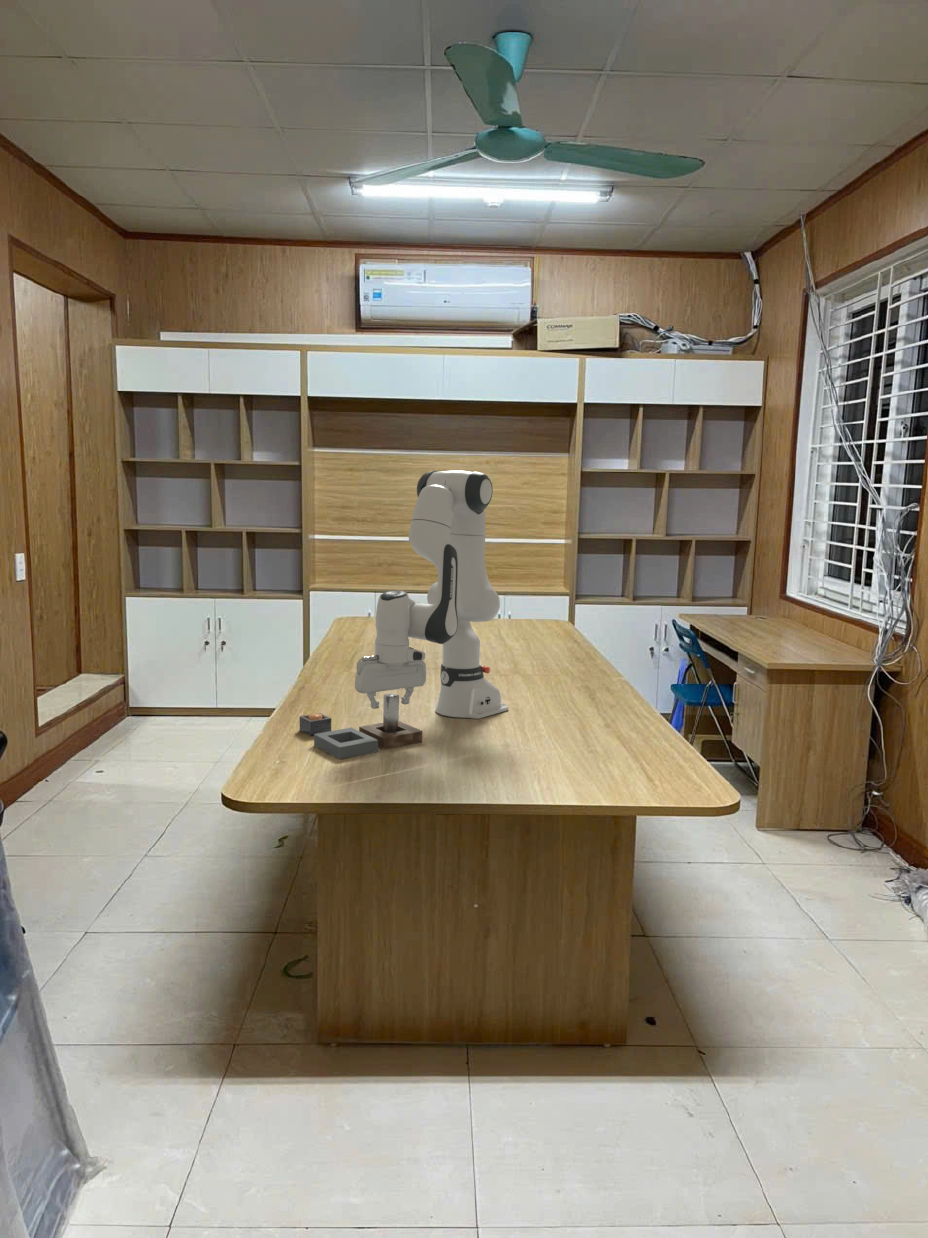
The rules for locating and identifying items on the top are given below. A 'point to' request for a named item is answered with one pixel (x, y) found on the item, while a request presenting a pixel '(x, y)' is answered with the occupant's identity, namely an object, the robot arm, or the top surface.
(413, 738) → the socket block
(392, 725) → the grey metal cylinder
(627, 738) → the top surface
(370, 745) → the block
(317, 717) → the brown egg
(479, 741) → the top surface
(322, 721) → the dark grey open box
